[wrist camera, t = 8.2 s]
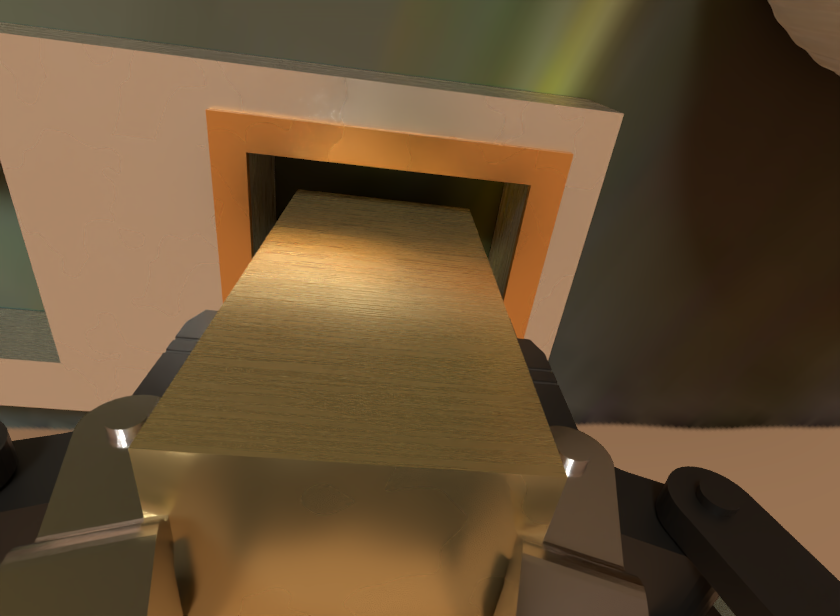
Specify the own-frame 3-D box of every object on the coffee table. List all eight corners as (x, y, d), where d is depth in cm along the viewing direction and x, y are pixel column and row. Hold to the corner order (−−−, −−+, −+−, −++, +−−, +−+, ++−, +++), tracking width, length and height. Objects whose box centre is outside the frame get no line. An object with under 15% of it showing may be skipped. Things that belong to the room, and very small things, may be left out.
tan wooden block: (298, 189, 13) (127, 448, 5) (469, 208, 13) (567, 477, 5) (297, 335, 15) (180, 675, 7) (443, 347, 15) (487, 683, 7)
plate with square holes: (-340, -23, 11) (-537, -36, 9) (587, 99, 13) (627, 115, 11) (-145, 340, 16) (-238, 393, 14) (508, 391, 18) (524, 446, 16)
